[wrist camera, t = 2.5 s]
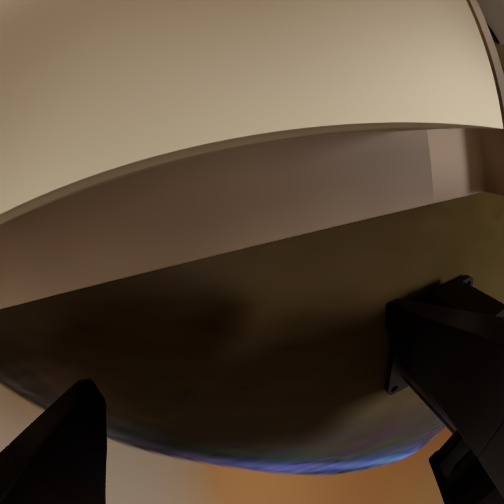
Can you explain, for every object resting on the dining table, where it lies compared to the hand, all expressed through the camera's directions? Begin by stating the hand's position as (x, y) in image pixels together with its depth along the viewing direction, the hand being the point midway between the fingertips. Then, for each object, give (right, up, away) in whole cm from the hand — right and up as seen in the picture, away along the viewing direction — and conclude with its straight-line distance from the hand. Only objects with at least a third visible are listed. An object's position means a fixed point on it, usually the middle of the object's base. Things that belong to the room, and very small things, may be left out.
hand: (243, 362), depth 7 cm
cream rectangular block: (-2, +8, -2) cm, 8 cm away
